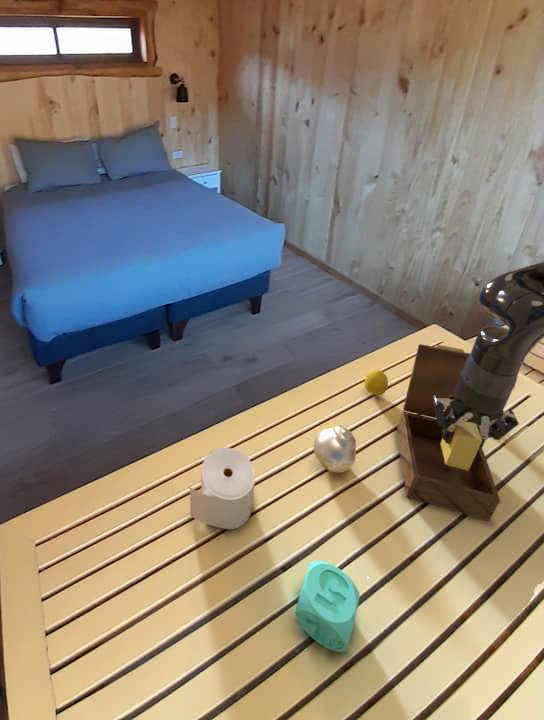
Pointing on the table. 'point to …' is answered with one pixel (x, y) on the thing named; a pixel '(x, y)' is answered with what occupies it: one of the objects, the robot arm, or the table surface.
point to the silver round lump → (335, 449)
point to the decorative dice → (327, 605)
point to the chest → (442, 471)
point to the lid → (433, 378)
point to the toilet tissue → (224, 490)
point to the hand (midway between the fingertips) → (459, 442)
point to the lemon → (376, 382)
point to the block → (462, 446)
